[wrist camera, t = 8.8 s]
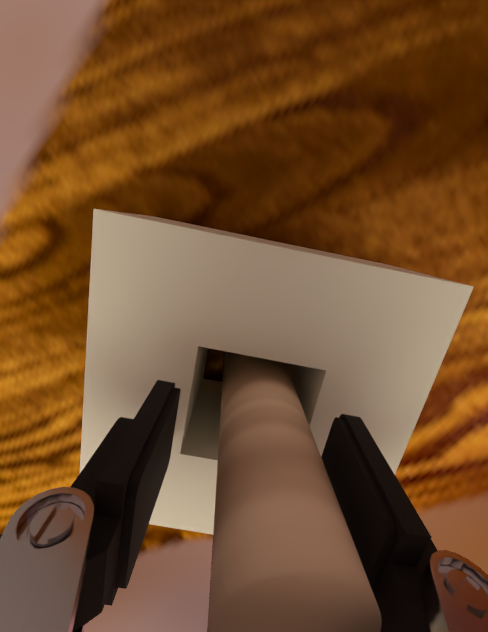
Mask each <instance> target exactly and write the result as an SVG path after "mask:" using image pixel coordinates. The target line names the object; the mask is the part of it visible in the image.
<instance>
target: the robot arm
mask: <svg viewBox="0 0 488 632" xmlns="http://www.w3.org/2000/svg"><path fill="white" fill-rule="evenodd" d="M180 390H181V389H180V388H175V383H173V382H167V381H162V380H157V381H156V383H155V385H154V386H153V388H152V390H151V391H150V393H149V395H148V396H147V398H146V400H145V401H144V403H143V404H142V406H141V408H140V409H139V411H138V413H137V414H136V416H135V418H134V419H130V418H124V417H120V418H118V420H117V421H116V422H115V424H114V425H113V426H112V428H111V429H110V431H109V432H108V434H107V435H106V437H105V438H104V439H103V441H102V442H101V444H100V445H99V447H98V448H97V450H96V451H95V452H94V454H93V455H92V457H91V458H90V460H89V461H88V463H87V464H86V466H85V467H84V468H83V470H82V471H81V473H80V474H79V476H78V477H77V479H76V480H75V481H74V483H73V484H72V486H71V487H61V488H55V489H50V490H48V491H45V492H42V493H40V494H38V495H36V496H34V497H33V498H31V499H29V500H28V501H26V502H25V503H24V504H23V505H22V506H21V507H20V508H19V509H18V510H16V512H15V513H14V515H13V516H12V517H11V519H10V520H9V522H8V524H7V526H6V528H5V530H4V532H3V534H2V535H0V632H84V628H85V624H86V623H88V622H89V621H90V620H92V619H93V618H94V617H96V616H97V615H98V614H100V613H101V612H102V610H103V607H104V605H105V604H106V605H112V603H113V600H114V598H115V595H116V592H117V589H118V588H126V587H127V585H128V583H129V580H130V577H131V574H132V571H133V568H134V565H135V562H136V559H137V556H138V554H139V551H140V548H141V545H142V542H143V539H144V536H145V533H146V530H147V527H148V524H149V521H150V518H151V515H152V512H153V509H154V507H155V504H156V501H157V498H158V495H159V492H160V489H161V486H162V483H163V480H164V477H165V474H166V471H167V468H168V465H169V461H170V456H171V449H172V443H173V436H174V430H175V423H176V417H177V411H178V404H179V398H180ZM321 458H322V461H323V463H324V466H325V468H326V471H327V474H328V476H329V479H330V481H331V484H332V487H333V489H334V492H335V495H336V497H337V500H338V502H339V505H340V508H341V510H342V513H343V515H344V518H345V521H346V523H347V526H348V529H349V531H350V534H351V536H352V539H353V542H354V544H355V547H356V549H357V552H358V555H359V557H360V560H361V563H362V565H363V568H364V570H365V573H366V576H367V578H368V581H369V583H370V586H371V589H372V591H373V594H374V597H375V599H376V602H377V604H378V607H379V610H380V613H381V618H382V625H381V631H380V632H488V575H487V574H486V573H485V572H484V571H482V570H481V568H479V567H478V566H477V565H475V564H474V563H472V562H471V561H469V560H468V559H466V558H465V557H463V556H461V555H459V554H456V553H454V552H450V551H447V550H442V551H441V550H440V551H437V549H436V547H435V546H434V544H433V542H432V540H431V536H430V534H429V532H428V531H427V529H426V527H425V526H424V524H423V522H422V520H421V519H420V517H419V515H418V514H417V512H416V510H415V509H414V507H413V505H412V503H411V502H410V500H409V498H408V497H407V495H406V493H405V492H404V490H403V488H402V487H401V485H400V483H399V481H398V480H397V478H396V476H395V475H394V473H393V471H392V470H391V468H390V466H389V464H388V463H387V461H386V459H385V458H384V456H383V454H382V453H381V451H380V449H379V448H378V446H377V444H376V442H375V441H374V439H373V437H372V436H371V434H370V432H369V431H368V429H367V427H366V426H365V424H364V422H363V420H362V419H361V418H360V417H357V416H352V415H346V414H341V415H340V416H339V418H338V417H335V418H334V420H333V423H332V426H331V429H330V432H329V435H328V438H327V441H326V444H325V447H324V450H323V453H322V456H321Z"/></svg>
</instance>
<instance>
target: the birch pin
mask: <svg viewBox="0 0 488 632" xmlns="http://www.w3.org/2000/svg"><path fill="white" fill-rule="evenodd" d="M208 613H209V614H208V629H207V632H380V631H381V625H382V618H381V613H380V610H379V607H378V604H377V602H376V599H375V597H374V594H373V591H372V589H371V586H370V583H369V581H368V578H367V576H366V573H365V570H364V568H363V565H362V563H361V560H360V557H359V555H358V552H357V549H356V547H355V544H354V542H353V539H352V536H351V534H350V531H349V529H348V526H347V523H346V521H345V518H344V515H343V513H342V510H341V508H340V505H339V502H338V500H337V497H336V495H335V492H334V489H333V487H332V484H331V481H330V479H329V476H328V474H327V471H326V468H325V466H324V463H323V461H322V458H321V455H320V453H319V450H318V447H317V445H316V442H315V440H314V437H313V434H312V432H311V429H310V427H309V424H308V421H307V419H306V416H305V413H304V411H303V408H302V406H301V403H300V400H299V398H298V395H297V393H296V390H295V387H294V385H293V382H292V379H291V377H290V374H289V372H288V369H287V366H286V364H285V363H284V362H279V361H273V360H268V359H263V358H258V357H252V356H247V355H242V354H237V353H231V352H226V351H224V366H223V382H222V398H221V415H220V431H219V448H218V464H217V481H216V497H215V514H214V530H213V547H212V563H211V580H210V596H209V612H208Z"/></svg>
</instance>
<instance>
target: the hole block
mask: <svg viewBox="0 0 488 632" xmlns="http://www.w3.org/2000/svg"><path fill="white" fill-rule="evenodd" d="M472 290H473V286H469V285H465V284H461V283H458V282H454V281H450V280H446V279H442V278H438V277H434V276H431V275H427V274H423V273H419V272H415V271H411V270H407V269H404V268H400V267H396V266H392V265H388V264H383V263H378V262H373V261H368V260H364V259H359V258H354V257H349V256H344V255H339V254H334V253H330V252H325V251H320V250H315V249H310V248H305V247H300V246H295V245H291V244H286V243H281V242H276V241H271V240H266V239H261V238H257V237H252V236H247V235H242V234H237V233H232V232H227V231H223V230H218V229H213V228H208V227H203V226H198V225H193V224H188V223H184V222H179V221H174V220H169V219H164V218H159V217H154V216H147V215H139V214H131V213H123V212H115V211H107V210H99V209H94V212H93V231H92V250H91V269H90V288H89V307H88V326H87V344H86V363H85V382H84V401H83V420H82V439H81V458H80V473H81V471H82V470H83V468H84V467H85V466H86V464H87V463H88V461H89V460H90V458H91V457H92V455H93V454H94V452H95V451H96V450H97V448H98V447H99V445H100V444H101V442H102V441H103V439H104V438H105V437H106V435H107V434H108V432H109V431H110V429H111V428H112V426H113V425H114V424H115V422H116V421H117V420H118V418H120V417H124V418H130V419H134V418H135V416H136V414H137V413H138V411H139V409H140V408H141V406H142V404H143V403H144V401H145V400H146V398H147V396H148V395H149V393H150V391H151V390H152V388H153V386H154V385H155V383H156V381H157V380H162V381H167V382H173V383H175V388H180V389H181V390H180V398H179V404H178V411H177V417H176V423H175V430H174V436H173V443H172V449H171V456H170V461H169V465H168V468H167V471H166V474H165V477H164V480H163V483H162V486H161V489H160V492H159V495H158V498H157V501H156V504H155V507H154V509H153V512H152V515H151V518H150V521H149V524H152V525H158V526H164V527H170V528H176V529H182V530H189V531H195V532H201V533H207V534H213V530H214V514H215V497H216V481H217V464H218V448H219V431H220V415H221V398H222V382H220V381H215V380H209V379H204V378H203V377H204V371H205V365H206V360H207V354H208V349H209V348H210V349H215V350H221V351H226V352H231V353H237V354H242V355H247V356H252V357H258V358H263V359H268V360H273V361H279V362H284V363H287V369H288V372H289V374H290V377H291V379H292V382H293V385H294V387H295V390H296V393H297V395H298V398H299V400H300V403H301V406H302V408H303V411H304V413H305V416H306V419H307V421H308V424H309V427H310V429H311V432H312V434H313V437H314V440H315V442H316V445H317V447H318V450H319V453H320V455H321V456H322V453H323V450H324V447H325V444H326V441H327V438H328V435H329V432H330V429H331V426H332V423H333V420H334V418H335V417H338V418H339V416H340V415H341V414H346V415H352V416H357V417H360V418H361V419H362V420H363V422H364V424H365V426H366V427H367V429H368V431H369V432H370V434H371V436H372V437H373V439H374V441H375V442H376V444H377V446H378V448H379V449H380V451H381V453H382V454H383V456H384V458H385V459H386V461H387V463H388V464H389V466H390V468H391V470H392V471H393V473H394V475H395V473H396V470H397V468H398V466H399V463H400V461H401V459H402V456H403V454H404V451H405V449H406V447H407V444H408V442H409V439H410V437H411V435H412V432H413V430H414V428H415V425H416V423H417V420H418V418H419V416H420V413H421V411H422V409H423V406H424V404H425V401H426V399H427V397H428V394H429V392H430V390H431V387H432V385H433V382H434V380H435V378H436V375H437V373H438V371H439V368H440V366H441V363H442V361H443V359H444V356H445V354H446V352H447V349H448V347H449V344H450V342H451V340H452V337H453V335H454V333H455V330H456V328H457V325H458V323H459V321H460V318H461V316H462V314H463V311H464V309H465V306H466V304H467V302H468V299H469V297H470V294H471V292H472Z"/></svg>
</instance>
